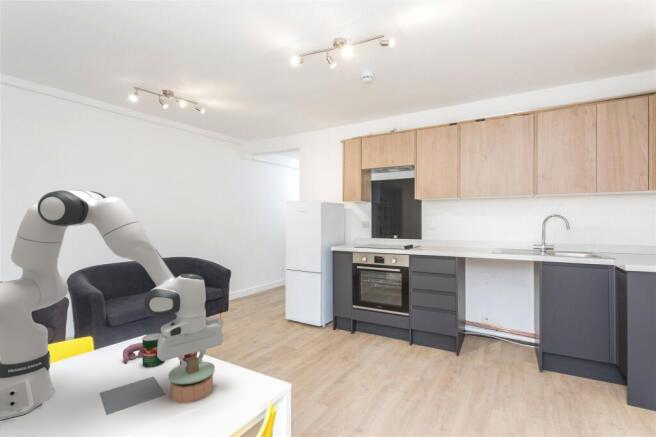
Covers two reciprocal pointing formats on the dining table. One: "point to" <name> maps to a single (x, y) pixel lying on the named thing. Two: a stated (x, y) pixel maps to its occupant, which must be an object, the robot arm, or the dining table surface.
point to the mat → (130, 395)
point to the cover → (191, 372)
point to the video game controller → (130, 349)
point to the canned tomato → (150, 350)
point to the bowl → (191, 390)
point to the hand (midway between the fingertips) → (192, 365)
